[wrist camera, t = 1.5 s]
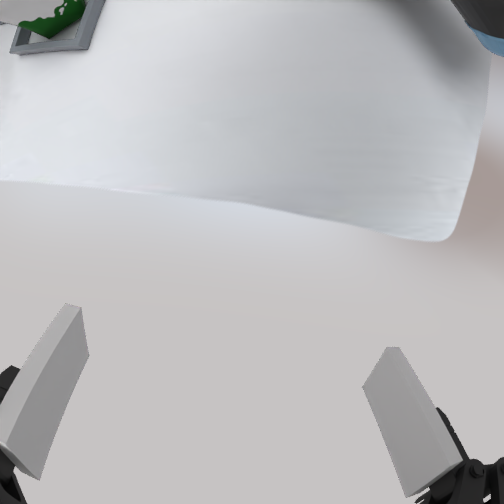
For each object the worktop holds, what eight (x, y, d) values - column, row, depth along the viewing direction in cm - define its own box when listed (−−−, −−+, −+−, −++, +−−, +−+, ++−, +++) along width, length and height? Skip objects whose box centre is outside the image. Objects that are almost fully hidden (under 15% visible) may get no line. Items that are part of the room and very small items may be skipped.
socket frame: (47, -19, 21) (38, -24, 18) (118, -30, 23) (112, -38, 20) (20, 54, 26) (9, 53, 23) (87, 49, 28) (78, 45, 26)
